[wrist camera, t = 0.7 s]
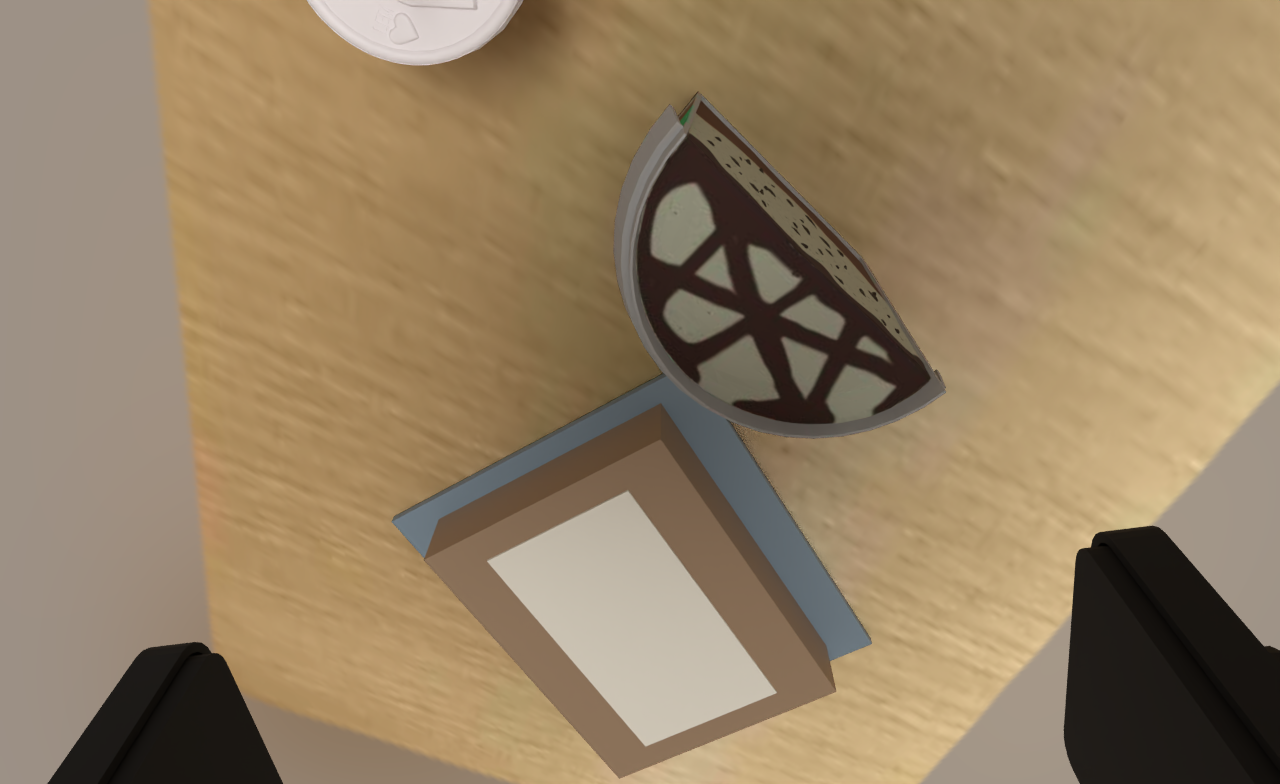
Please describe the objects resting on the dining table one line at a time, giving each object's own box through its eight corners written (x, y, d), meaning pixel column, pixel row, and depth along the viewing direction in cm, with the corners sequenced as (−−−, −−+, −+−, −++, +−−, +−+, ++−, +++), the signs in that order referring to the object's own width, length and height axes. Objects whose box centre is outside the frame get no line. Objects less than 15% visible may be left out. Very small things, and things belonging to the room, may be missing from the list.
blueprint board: (689, 359, 39) (691, 399, 36) (870, 638, 46) (885, 691, 43) (393, 516, 43) (372, 564, 40) (600, 749, 50) (596, 805, 47)
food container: (557, 182, 35) (521, 275, 27) (669, 61, 33) (670, 118, 24) (774, 380, 39) (806, 519, 30) (887, 283, 37) (957, 403, 28)
